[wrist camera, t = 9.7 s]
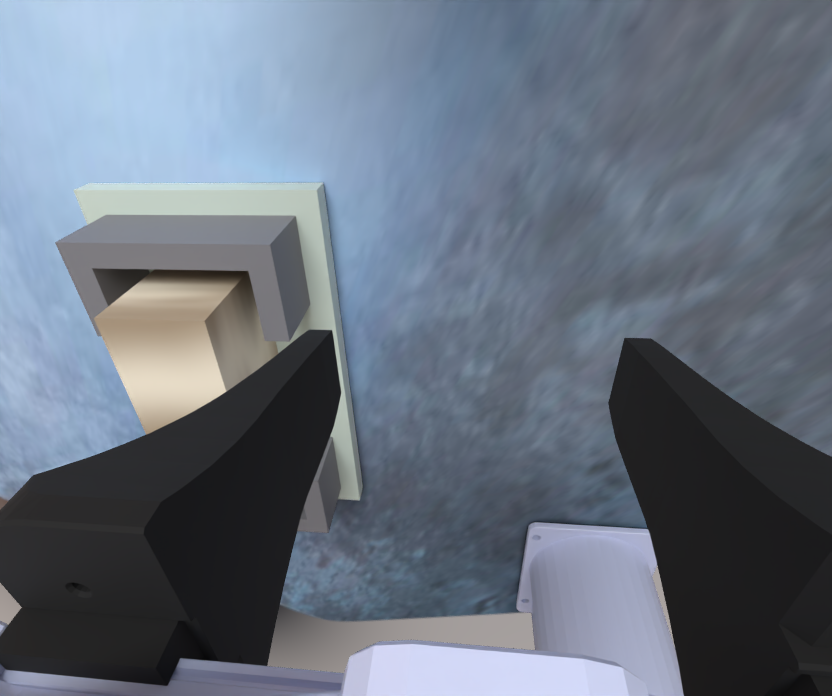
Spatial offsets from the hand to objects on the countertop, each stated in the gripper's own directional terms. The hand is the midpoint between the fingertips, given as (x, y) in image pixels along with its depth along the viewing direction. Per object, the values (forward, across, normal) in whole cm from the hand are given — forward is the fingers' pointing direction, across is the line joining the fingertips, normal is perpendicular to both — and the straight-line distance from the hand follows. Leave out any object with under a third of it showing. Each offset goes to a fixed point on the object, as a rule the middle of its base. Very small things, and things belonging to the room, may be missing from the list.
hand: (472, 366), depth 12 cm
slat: (+8, +11, +7) cm, 15 cm away
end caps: (+9, +11, +7) cm, 16 cm away
